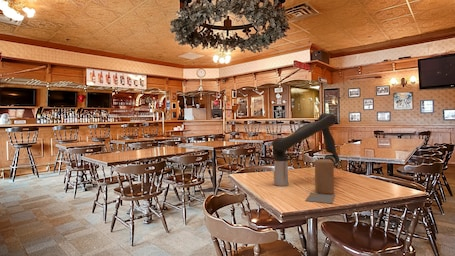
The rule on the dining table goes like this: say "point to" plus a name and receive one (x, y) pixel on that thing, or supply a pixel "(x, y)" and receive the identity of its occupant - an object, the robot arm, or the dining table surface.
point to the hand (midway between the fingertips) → (326, 165)
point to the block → (324, 176)
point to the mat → (320, 198)
